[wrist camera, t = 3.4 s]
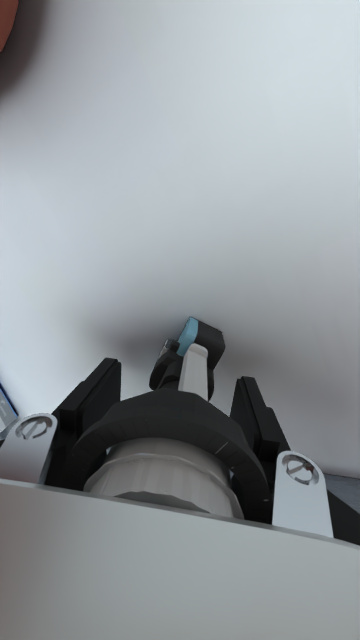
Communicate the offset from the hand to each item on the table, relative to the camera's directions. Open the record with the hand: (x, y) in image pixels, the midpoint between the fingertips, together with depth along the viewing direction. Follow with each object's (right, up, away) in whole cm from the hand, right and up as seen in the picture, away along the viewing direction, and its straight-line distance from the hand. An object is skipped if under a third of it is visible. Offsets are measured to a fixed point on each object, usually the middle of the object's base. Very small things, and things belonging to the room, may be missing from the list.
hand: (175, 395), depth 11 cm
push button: (0, +1, +4) cm, 4 cm away
